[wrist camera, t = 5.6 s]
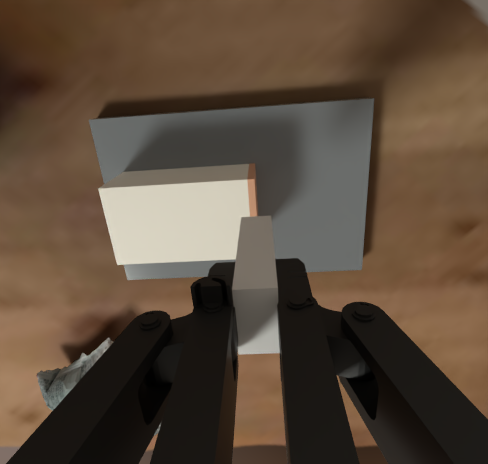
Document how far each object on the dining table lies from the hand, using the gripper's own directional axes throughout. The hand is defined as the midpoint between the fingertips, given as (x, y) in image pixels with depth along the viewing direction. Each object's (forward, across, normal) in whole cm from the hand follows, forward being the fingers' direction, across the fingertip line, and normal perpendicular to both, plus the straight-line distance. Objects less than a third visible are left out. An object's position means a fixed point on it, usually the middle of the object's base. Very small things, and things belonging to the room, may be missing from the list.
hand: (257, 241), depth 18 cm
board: (+8, -2, 0) cm, 8 cm away
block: (+5, 0, 0) cm, 5 cm away
